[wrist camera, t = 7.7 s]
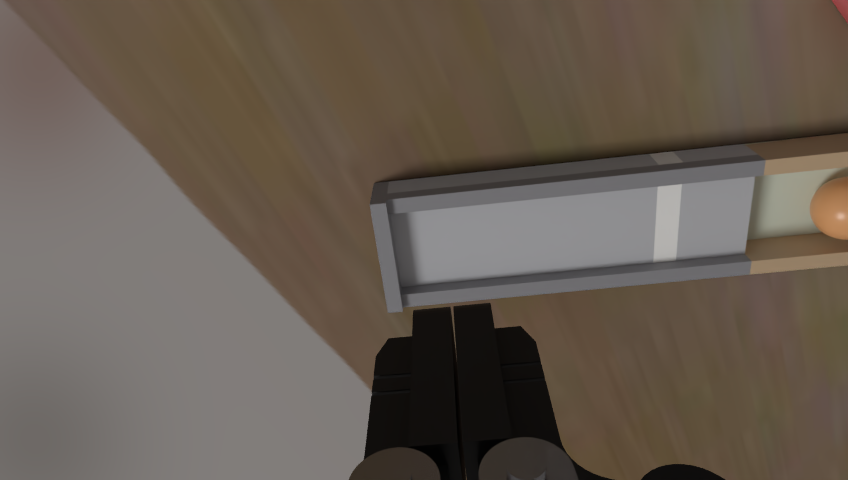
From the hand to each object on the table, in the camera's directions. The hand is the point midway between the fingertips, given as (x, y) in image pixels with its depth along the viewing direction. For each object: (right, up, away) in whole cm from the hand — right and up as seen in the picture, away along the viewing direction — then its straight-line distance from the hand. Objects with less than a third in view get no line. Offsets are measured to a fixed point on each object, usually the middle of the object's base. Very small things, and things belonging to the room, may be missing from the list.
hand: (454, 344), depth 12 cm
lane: (+14, +4, +30) cm, 34 cm away
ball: (+26, +4, +28) cm, 39 cm away
